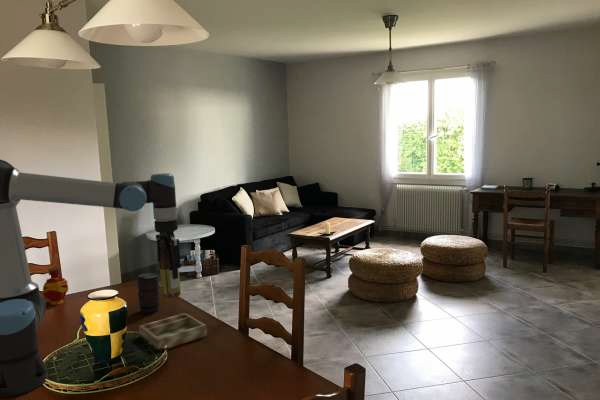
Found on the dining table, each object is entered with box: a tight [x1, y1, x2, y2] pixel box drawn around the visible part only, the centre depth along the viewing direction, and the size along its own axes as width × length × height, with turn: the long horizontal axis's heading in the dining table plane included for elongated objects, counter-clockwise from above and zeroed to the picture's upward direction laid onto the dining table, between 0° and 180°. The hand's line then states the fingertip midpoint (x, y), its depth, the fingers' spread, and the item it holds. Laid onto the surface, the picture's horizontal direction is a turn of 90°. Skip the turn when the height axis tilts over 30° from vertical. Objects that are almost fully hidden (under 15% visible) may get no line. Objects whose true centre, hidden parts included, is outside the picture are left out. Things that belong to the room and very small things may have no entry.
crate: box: [138, 312, 208, 349], centre depth 165 cm, size 18×16×4 cm
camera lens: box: [137, 272, 160, 315], centre depth 190 cm, size 8×8×15 cm
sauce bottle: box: [158, 240, 182, 299], centre depth 160 cm, size 7×6×20 cm
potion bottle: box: [41, 267, 69, 306], centre depth 202 cm, size 10×10×15 cm
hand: (170, 285), depth 161 cm, fingers closed on sauce bottle, 6 cm apart
